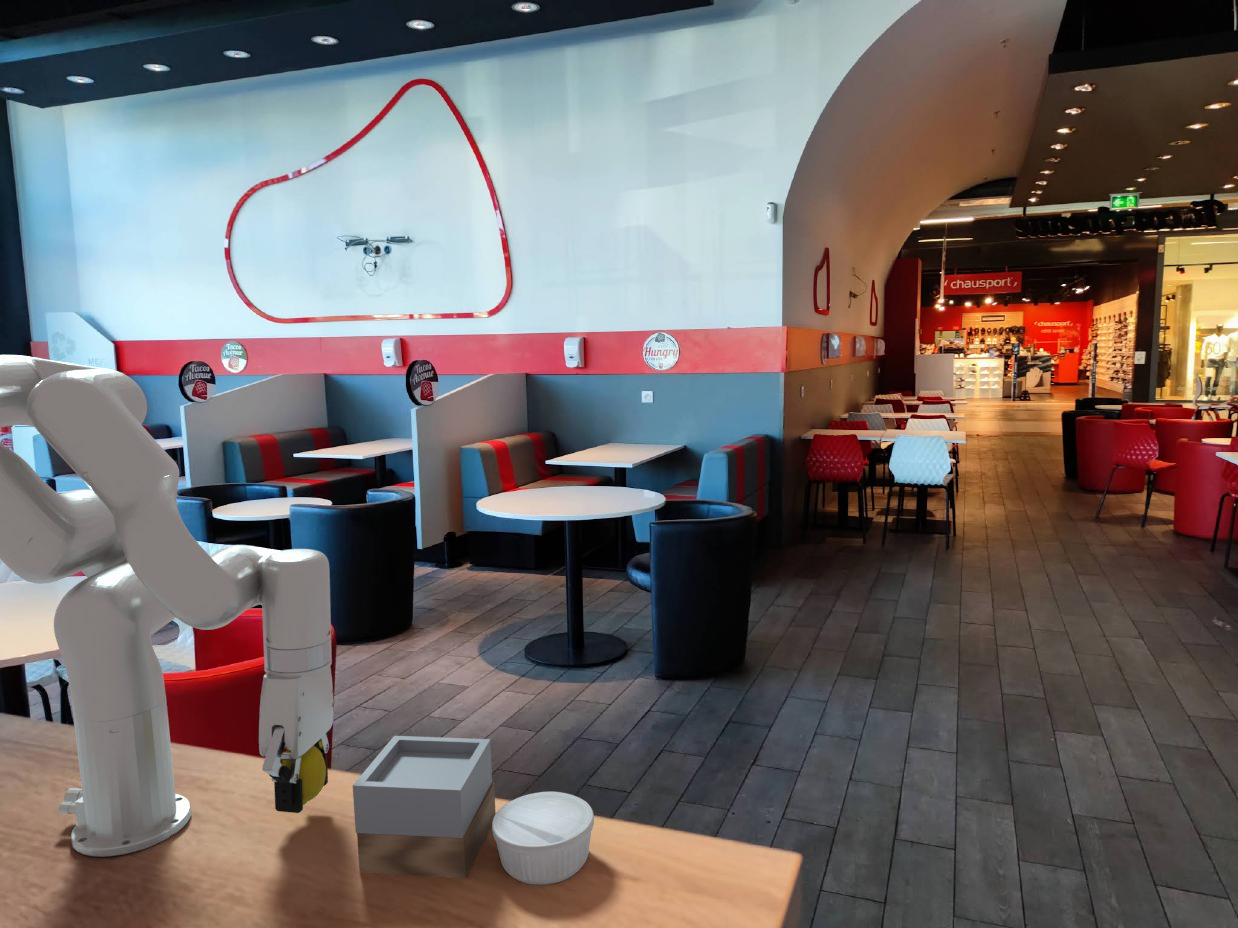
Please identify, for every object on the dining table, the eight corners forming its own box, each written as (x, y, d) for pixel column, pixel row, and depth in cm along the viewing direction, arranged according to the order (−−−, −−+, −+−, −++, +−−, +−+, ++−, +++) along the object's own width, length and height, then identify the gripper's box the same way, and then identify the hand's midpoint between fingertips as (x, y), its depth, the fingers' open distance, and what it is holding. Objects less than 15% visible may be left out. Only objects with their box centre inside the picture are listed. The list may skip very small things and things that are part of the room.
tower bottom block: (359, 875, 94) (357, 833, 94) (401, 816, 106) (399, 778, 105) (465, 882, 93) (463, 839, 92) (495, 821, 104) (494, 782, 104)
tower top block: (355, 832, 94) (352, 785, 93) (396, 778, 105) (394, 735, 105) (462, 838, 92) (460, 790, 91) (492, 782, 104) (490, 739, 103)
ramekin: (485, 892, 90) (483, 845, 90) (502, 832, 101) (501, 790, 101) (591, 892, 90) (590, 845, 89) (597, 832, 101) (596, 790, 100)
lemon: (310, 819, 101) (309, 755, 100) (268, 813, 103) (266, 749, 101) (335, 795, 107) (334, 734, 106) (294, 790, 108) (293, 729, 107)
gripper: (303, 629, 111) (307, 761, 113) (226, 679, 94) (233, 833, 97) (359, 632, 110) (361, 766, 112) (291, 683, 93) (296, 839, 96)
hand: (302, 795), depth 104 cm, fingers closed on lemon, 5 cm apart
